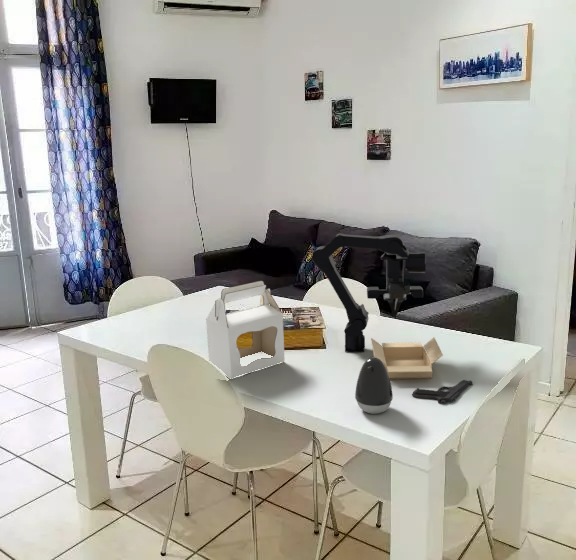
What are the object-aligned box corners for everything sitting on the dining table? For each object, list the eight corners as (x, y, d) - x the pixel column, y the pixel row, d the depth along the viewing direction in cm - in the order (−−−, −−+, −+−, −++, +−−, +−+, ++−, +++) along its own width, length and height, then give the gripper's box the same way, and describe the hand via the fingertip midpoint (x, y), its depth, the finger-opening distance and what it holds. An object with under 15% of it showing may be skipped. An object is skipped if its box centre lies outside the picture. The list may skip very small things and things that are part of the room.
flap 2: (431, 363, 189) (442, 354, 188) (423, 345, 205) (434, 337, 204) (431, 364, 189) (443, 355, 188) (424, 346, 205) (434, 337, 204)
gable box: (230, 380, 194) (225, 294, 188) (208, 369, 205) (202, 287, 198) (285, 362, 208) (282, 282, 201) (262, 352, 218) (258, 275, 211)
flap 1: (385, 364, 191) (374, 356, 190) (381, 346, 207) (371, 338, 206) (386, 364, 190) (374, 355, 190) (382, 346, 207) (371, 338, 206)
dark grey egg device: (350, 415, 167) (350, 363, 164) (360, 400, 176) (359, 350, 173) (388, 420, 163) (388, 366, 160) (395, 404, 173) (396, 353, 169)
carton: (386, 383, 187) (386, 371, 186) (380, 353, 212) (380, 342, 211) (433, 383, 186) (433, 371, 185) (422, 353, 211) (422, 342, 210)
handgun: (436, 372, 191) (474, 379, 184) (436, 378, 192) (474, 385, 185) (410, 392, 177) (450, 401, 170) (410, 398, 177) (450, 407, 170)
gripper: (368, 278, 201) (368, 323, 205) (426, 277, 200) (425, 323, 203) (366, 270, 212) (366, 314, 216) (421, 269, 210) (420, 313, 214)
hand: (394, 316), depth 212 cm, fingers closed
